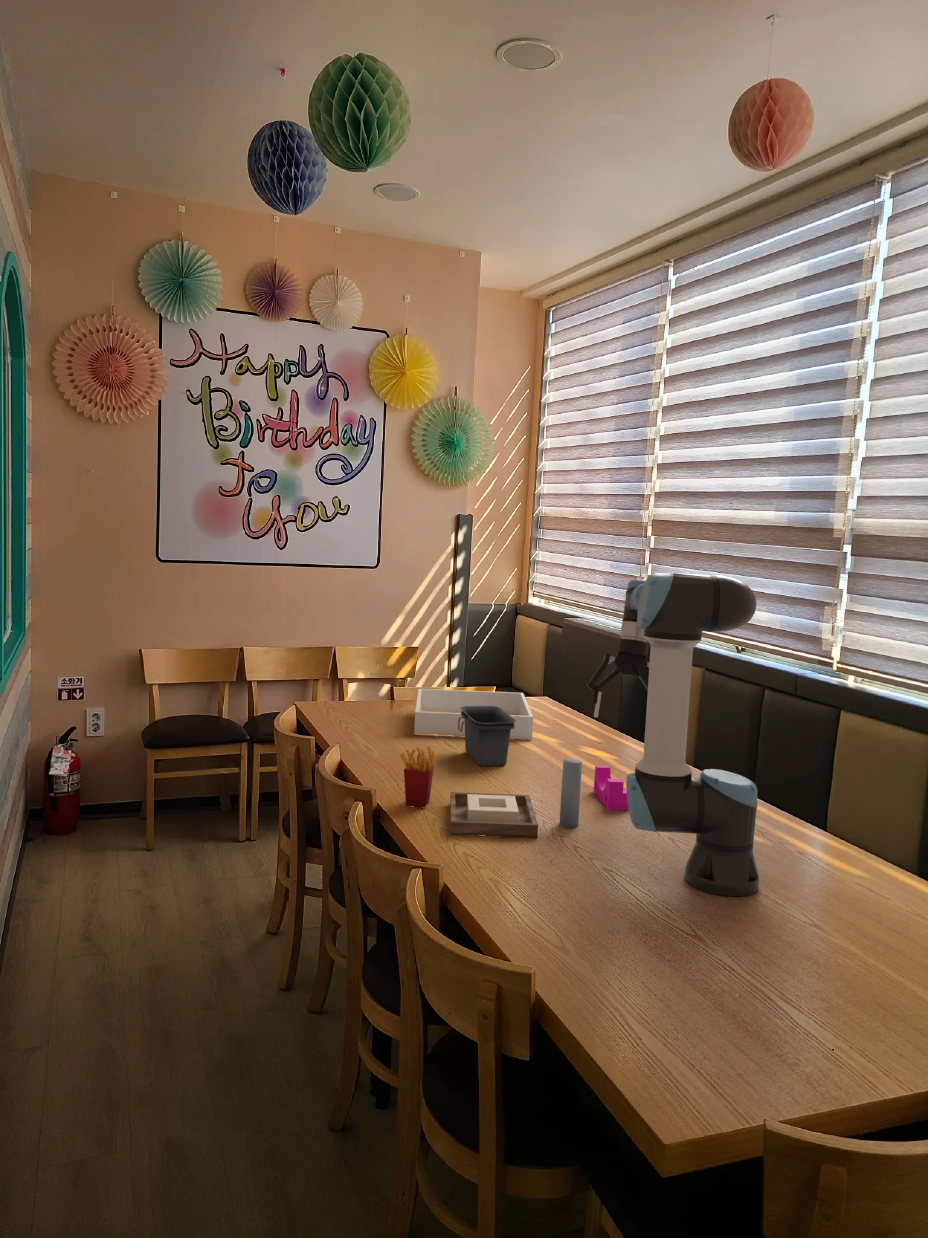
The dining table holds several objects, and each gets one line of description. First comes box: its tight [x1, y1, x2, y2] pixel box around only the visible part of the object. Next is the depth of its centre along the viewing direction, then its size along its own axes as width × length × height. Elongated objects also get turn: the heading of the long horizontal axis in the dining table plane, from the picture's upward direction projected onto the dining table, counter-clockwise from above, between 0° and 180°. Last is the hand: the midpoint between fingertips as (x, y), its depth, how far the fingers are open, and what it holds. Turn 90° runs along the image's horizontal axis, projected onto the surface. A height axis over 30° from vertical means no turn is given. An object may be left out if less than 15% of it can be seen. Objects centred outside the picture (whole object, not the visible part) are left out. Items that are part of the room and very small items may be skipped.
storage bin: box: [458, 706, 516, 767], centre depth 277 cm, size 21×16×14 cm
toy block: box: [593, 765, 629, 810], centre depth 244 cm, size 15×6×8 cm, turn 6°
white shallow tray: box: [413, 688, 534, 741], centre depth 322 cm, size 39×39×8 cm
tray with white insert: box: [449, 791, 539, 839], centre depth 223 cm, size 22×20×3 cm
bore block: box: [467, 794, 519, 823], centre depth 223 cm, size 12×12×4 cm
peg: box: [559, 758, 583, 829], centre depth 222 cm, size 5×5×16 cm
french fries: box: [399, 746, 436, 808], centre depth 233 cm, size 9×8×15 cm
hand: (622, 721), depth 233 cm, fingers open, 13 cm apart
